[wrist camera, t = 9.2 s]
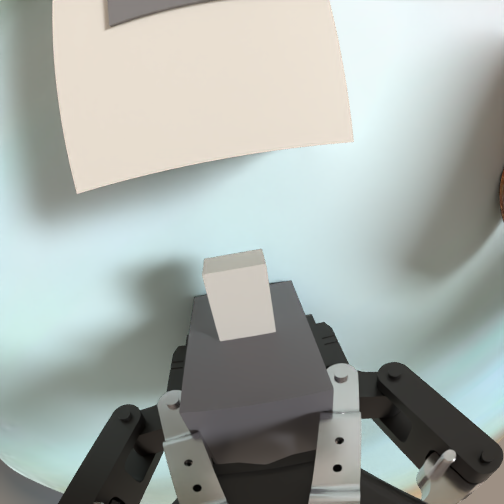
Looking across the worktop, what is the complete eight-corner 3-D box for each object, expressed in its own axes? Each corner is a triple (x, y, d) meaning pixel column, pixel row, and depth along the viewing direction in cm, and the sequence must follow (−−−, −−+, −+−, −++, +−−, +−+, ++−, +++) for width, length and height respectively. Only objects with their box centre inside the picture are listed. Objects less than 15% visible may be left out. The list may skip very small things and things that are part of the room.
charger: (179, 241, 13) (144, 343, 7) (284, 223, 13) (335, 312, 7) (218, 373, 16) (219, 479, 10) (298, 360, 16) (328, 462, 10)
